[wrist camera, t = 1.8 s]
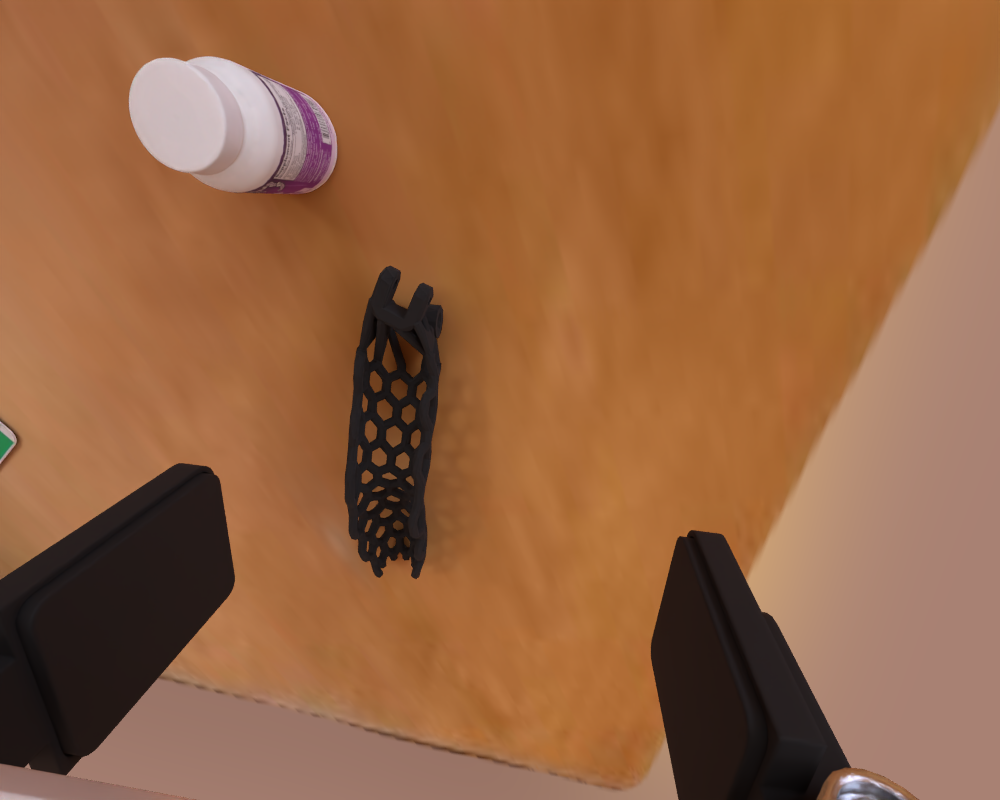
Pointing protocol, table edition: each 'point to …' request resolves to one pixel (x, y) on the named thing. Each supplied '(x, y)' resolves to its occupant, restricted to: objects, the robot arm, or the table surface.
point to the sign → (6, 441)
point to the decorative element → (393, 424)
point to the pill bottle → (232, 126)
